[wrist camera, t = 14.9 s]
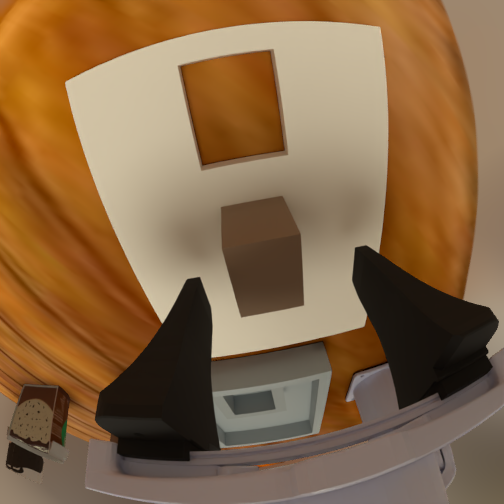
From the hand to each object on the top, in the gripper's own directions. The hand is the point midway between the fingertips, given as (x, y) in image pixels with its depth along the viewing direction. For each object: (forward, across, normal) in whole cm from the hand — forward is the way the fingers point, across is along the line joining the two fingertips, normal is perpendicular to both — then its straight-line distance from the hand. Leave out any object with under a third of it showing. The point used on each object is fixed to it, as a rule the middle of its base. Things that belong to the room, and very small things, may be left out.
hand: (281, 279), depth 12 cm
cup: (+4, +43, +24) cm, 49 cm away
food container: (+4, +33, +19) cm, 38 cm away
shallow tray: (+4, +4, +21) cm, 22 cm away
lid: (+4, +1, -1) cm, 4 cm away
